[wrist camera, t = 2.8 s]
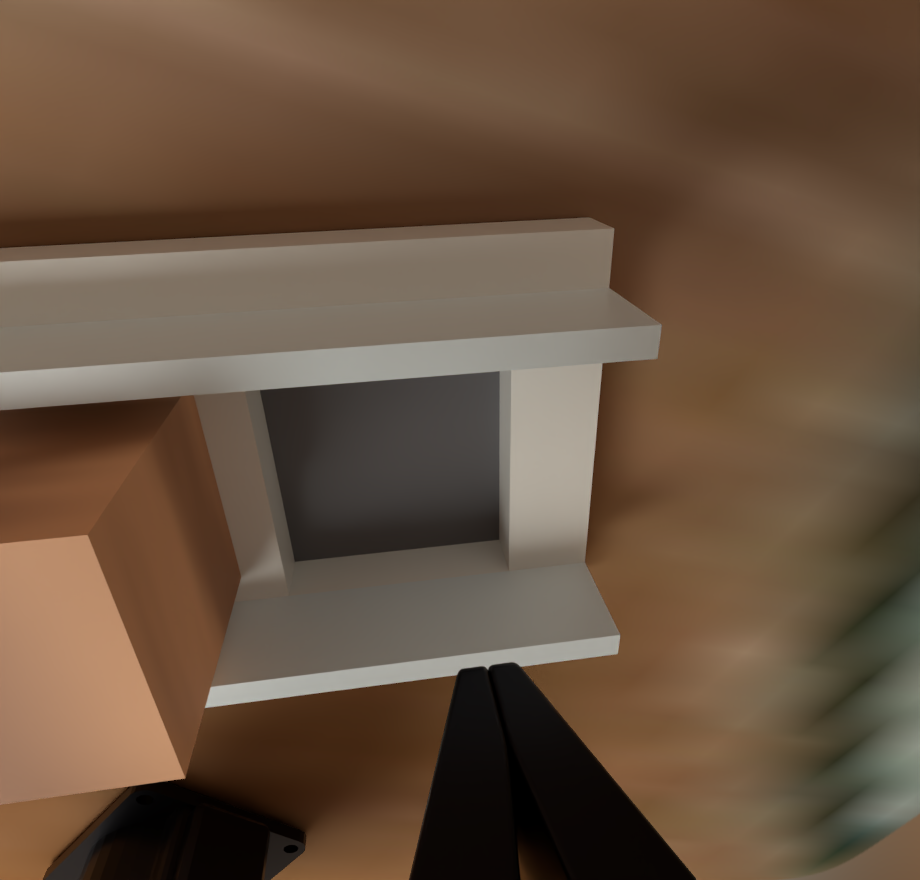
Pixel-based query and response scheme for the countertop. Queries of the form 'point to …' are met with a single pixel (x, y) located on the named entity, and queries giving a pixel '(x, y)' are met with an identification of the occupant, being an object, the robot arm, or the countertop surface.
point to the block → (107, 594)
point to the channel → (361, 428)
